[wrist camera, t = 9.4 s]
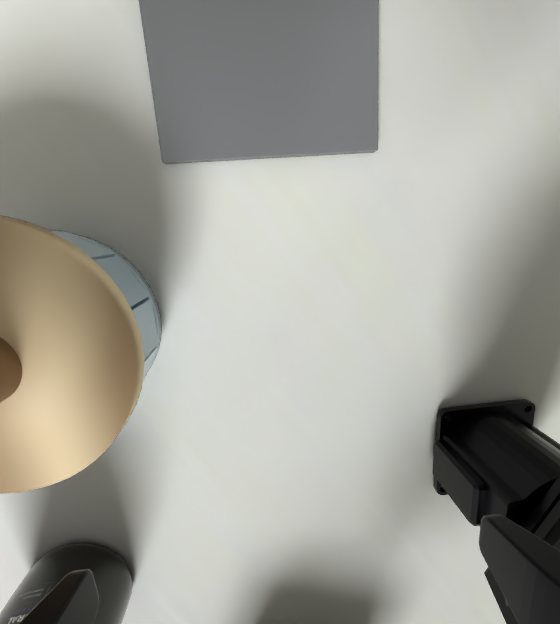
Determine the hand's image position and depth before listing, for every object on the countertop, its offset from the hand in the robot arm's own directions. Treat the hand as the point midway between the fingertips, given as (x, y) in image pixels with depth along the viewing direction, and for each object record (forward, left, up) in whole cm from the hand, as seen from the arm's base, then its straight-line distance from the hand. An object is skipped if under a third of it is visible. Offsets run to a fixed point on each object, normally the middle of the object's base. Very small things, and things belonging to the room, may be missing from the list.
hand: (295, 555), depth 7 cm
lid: (+11, -3, -8) cm, 14 cm away
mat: (-1, -17, -12) cm, 21 cm away
